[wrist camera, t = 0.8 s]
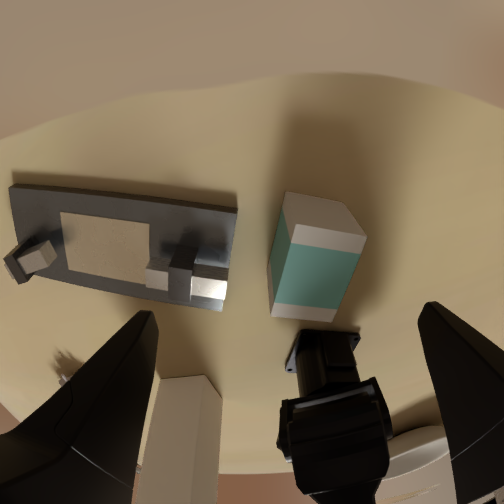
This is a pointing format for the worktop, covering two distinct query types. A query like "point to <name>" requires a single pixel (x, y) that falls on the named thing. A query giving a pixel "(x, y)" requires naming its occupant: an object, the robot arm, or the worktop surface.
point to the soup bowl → (415, 450)
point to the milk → (182, 444)
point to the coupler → (312, 257)
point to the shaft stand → (123, 243)
